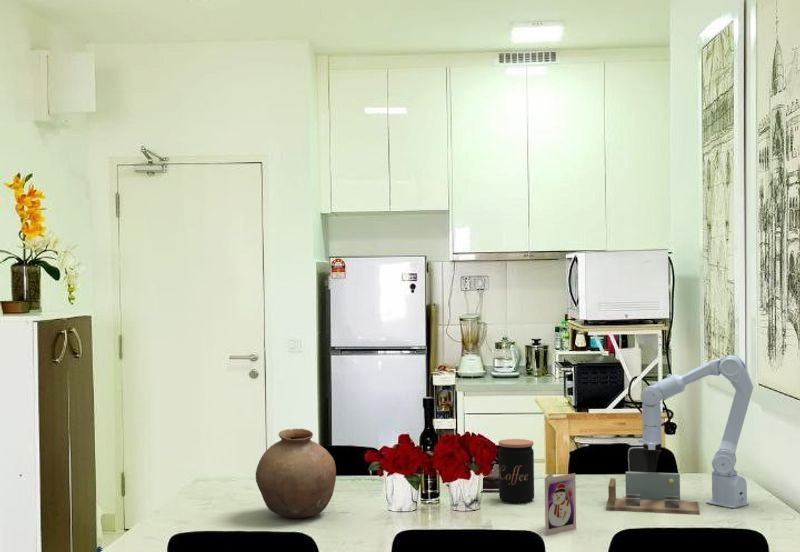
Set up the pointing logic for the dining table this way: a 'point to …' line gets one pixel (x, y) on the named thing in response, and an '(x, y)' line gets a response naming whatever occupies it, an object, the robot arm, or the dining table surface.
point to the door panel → (653, 485)
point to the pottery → (296, 475)
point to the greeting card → (560, 503)
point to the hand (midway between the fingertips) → (652, 469)
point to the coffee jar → (516, 471)
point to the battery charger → (637, 460)
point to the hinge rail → (648, 503)
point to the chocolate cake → (492, 481)
